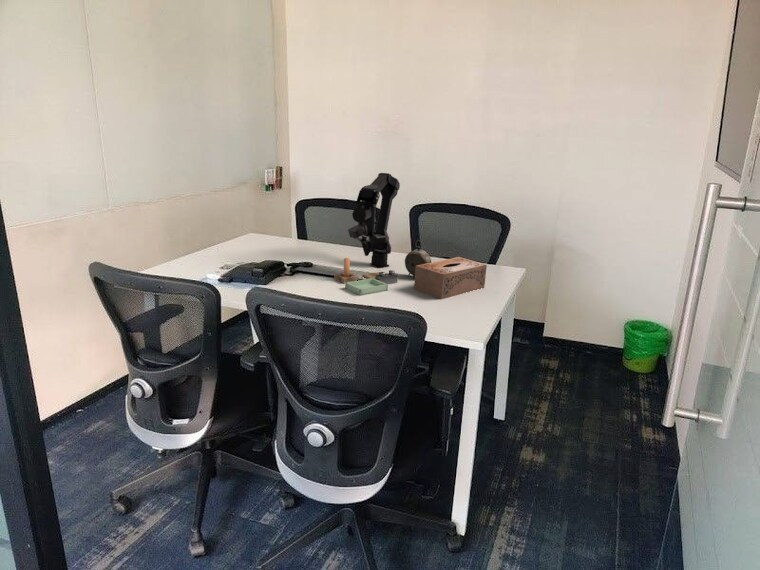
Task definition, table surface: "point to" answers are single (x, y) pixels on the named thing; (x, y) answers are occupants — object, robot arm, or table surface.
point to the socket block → (345, 278)
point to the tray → (366, 286)
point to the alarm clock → (416, 259)
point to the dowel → (346, 267)
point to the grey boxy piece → (387, 277)
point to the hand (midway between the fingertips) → (366, 255)
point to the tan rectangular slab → (370, 275)
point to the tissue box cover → (449, 277)
